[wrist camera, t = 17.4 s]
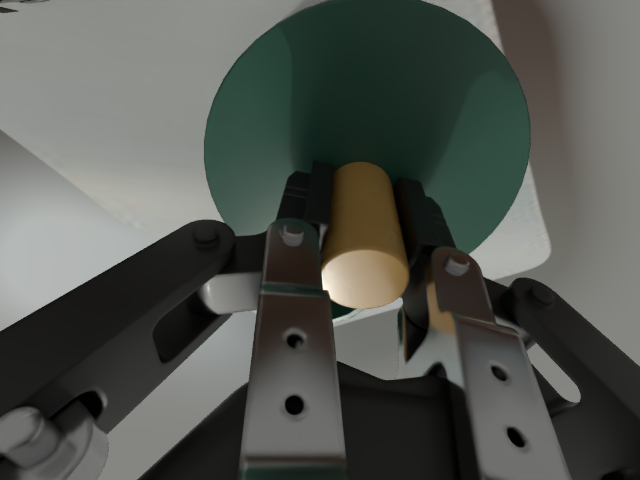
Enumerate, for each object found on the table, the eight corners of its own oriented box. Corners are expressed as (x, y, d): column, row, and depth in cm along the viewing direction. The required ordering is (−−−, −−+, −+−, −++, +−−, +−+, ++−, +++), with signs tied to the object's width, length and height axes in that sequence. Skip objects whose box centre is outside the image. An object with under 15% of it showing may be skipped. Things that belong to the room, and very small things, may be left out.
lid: (151, 134, 12) (40, 225, 8) (447, -130, 7) (594, -283, 3) (321, 299, 18) (312, 405, 13) (546, 212, 13) (646, 331, 9)
